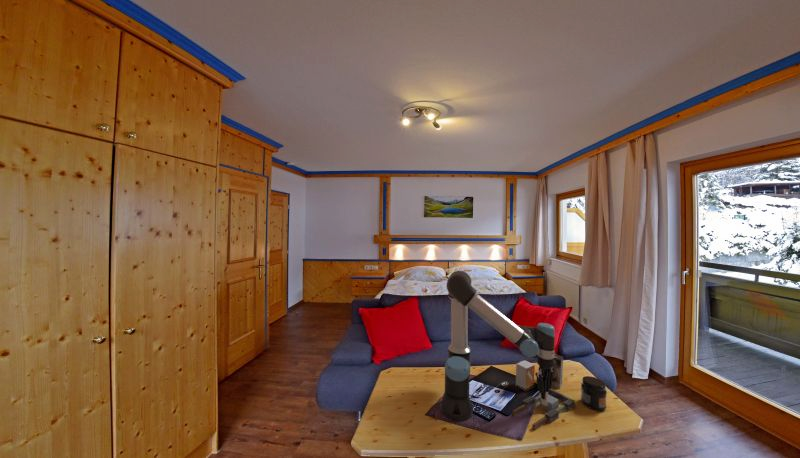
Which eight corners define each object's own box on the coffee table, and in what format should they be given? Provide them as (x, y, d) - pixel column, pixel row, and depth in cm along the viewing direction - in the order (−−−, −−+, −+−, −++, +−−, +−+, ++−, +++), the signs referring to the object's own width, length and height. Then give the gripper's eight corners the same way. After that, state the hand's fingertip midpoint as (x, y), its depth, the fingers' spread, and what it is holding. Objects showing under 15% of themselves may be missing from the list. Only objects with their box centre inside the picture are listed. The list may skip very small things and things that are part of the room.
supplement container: (611, 409, 135) (612, 385, 135) (595, 413, 132) (596, 388, 132) (590, 396, 145) (591, 374, 145) (575, 400, 142) (576, 377, 142)
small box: (525, 392, 148) (526, 368, 148) (515, 386, 153) (515, 363, 153) (534, 387, 152) (535, 364, 152) (523, 382, 158) (524, 359, 158)
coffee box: (542, 382, 158) (542, 354, 157) (545, 378, 162) (545, 351, 162) (560, 389, 152) (561, 360, 151) (562, 384, 156) (563, 356, 156)
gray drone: (509, 413, 131) (509, 407, 131) (547, 392, 149) (547, 386, 148) (537, 432, 120) (537, 425, 119) (574, 406, 137) (574, 400, 137)
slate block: (539, 406, 137) (540, 397, 137) (546, 402, 140) (546, 393, 140) (551, 413, 132) (552, 403, 132) (558, 408, 135) (558, 399, 135)
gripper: (545, 363, 127) (544, 413, 128) (560, 356, 134) (559, 404, 135) (530, 356, 134) (529, 404, 134) (545, 350, 141) (544, 396, 141)
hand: (544, 404), depth 134 cm, fingers closed
